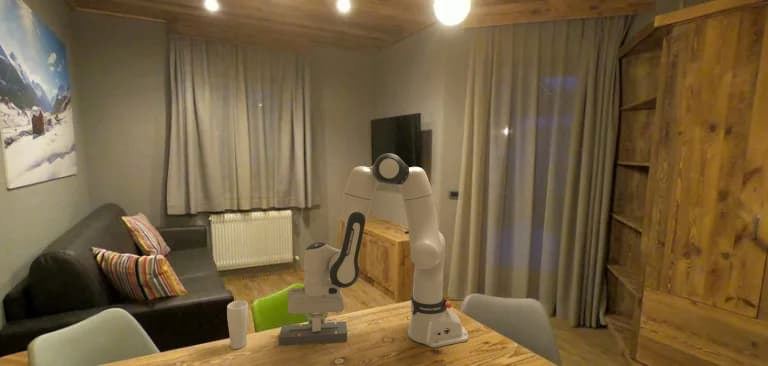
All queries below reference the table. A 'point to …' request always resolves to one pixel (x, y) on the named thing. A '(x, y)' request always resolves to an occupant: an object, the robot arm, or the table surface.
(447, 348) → the table surface
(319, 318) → the fader tab
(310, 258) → the robot arm
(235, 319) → the drinking glass
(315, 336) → the console
